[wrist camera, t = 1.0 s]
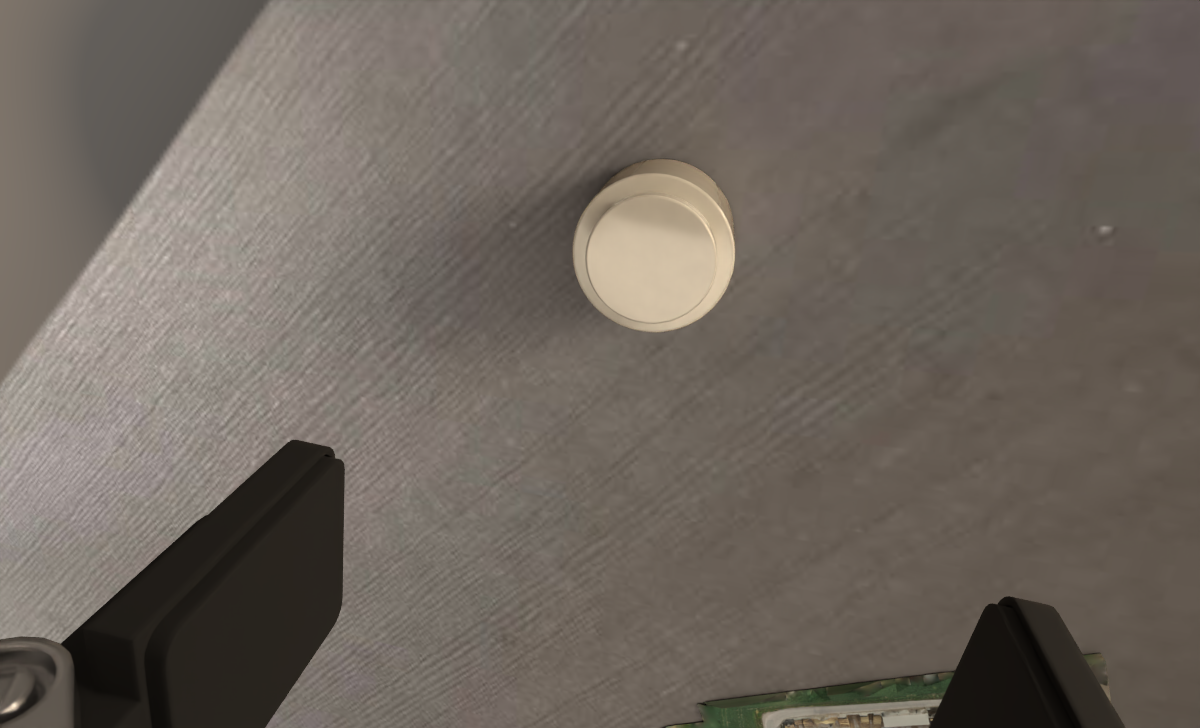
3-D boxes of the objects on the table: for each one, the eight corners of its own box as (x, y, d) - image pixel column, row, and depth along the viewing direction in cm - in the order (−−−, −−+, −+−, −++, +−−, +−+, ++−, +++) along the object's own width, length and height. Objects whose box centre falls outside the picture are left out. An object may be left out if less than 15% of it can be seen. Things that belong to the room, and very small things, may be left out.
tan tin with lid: (600, 145, 24) (580, 162, 21) (749, 173, 24) (753, 195, 20) (578, 287, 26) (557, 322, 23) (716, 314, 26) (714, 354, 22)
